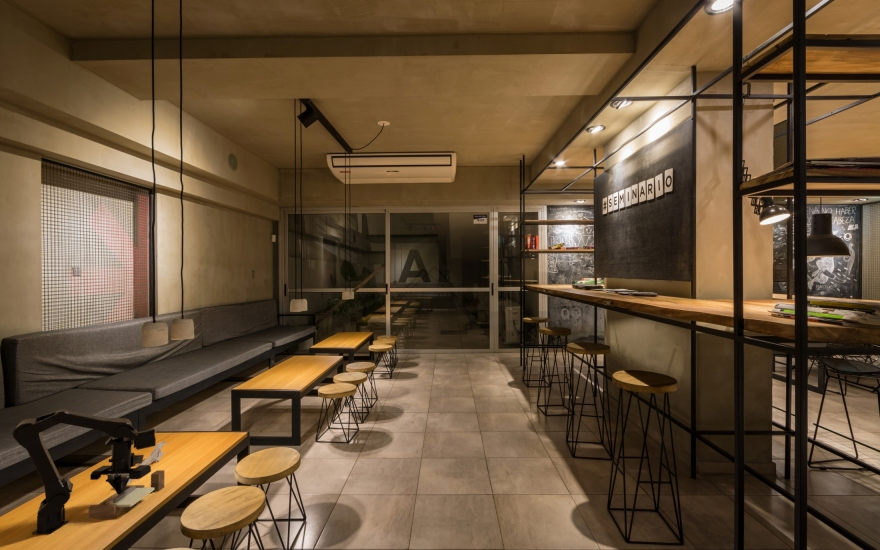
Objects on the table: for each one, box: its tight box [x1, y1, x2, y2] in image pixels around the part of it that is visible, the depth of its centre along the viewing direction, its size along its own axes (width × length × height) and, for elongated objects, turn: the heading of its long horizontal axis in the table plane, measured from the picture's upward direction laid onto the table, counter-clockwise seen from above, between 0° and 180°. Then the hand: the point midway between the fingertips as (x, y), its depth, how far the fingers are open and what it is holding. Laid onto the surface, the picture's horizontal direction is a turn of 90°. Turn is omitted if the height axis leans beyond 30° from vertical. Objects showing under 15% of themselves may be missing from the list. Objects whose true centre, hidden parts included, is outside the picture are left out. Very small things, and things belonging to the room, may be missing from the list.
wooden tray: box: [88, 484, 145, 520], centre depth 141 cm, size 14×9×4 cm, turn 1°
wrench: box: [127, 441, 167, 485], centre depth 168 cm, size 8×2×30 cm
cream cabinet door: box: [108, 486, 154, 508], centre depth 141 cm, size 11×8×2 cm
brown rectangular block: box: [150, 469, 166, 493], centre depth 153 cm, size 3×3×7 cm
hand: (120, 494), depth 141 cm, fingers closed
